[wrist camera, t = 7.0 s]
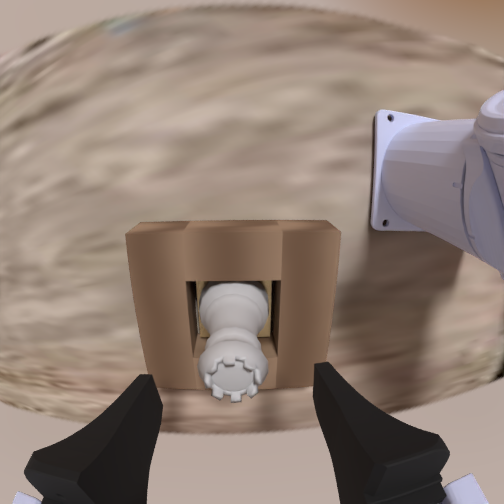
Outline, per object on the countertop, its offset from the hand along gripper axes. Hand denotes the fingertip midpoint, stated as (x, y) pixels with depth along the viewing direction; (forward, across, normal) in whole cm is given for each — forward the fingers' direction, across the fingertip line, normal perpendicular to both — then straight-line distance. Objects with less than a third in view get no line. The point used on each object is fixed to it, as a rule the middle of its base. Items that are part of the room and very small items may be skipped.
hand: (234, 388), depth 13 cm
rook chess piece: (+8, 0, 0) cm, 8 cm away
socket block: (+9, 0, 0) cm, 9 cm away
